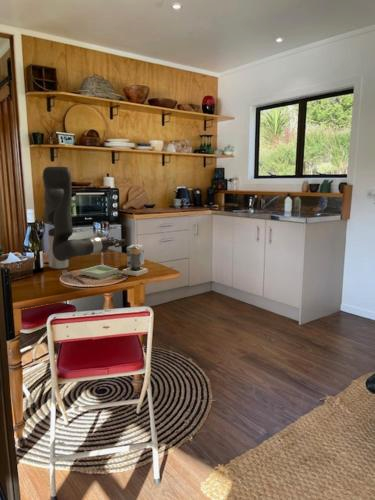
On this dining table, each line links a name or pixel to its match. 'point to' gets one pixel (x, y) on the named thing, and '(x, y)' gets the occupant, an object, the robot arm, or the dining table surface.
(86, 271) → the sage tray
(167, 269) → the dining table surface
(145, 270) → the checker socket
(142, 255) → the light bulb box
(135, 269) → the battery cell
